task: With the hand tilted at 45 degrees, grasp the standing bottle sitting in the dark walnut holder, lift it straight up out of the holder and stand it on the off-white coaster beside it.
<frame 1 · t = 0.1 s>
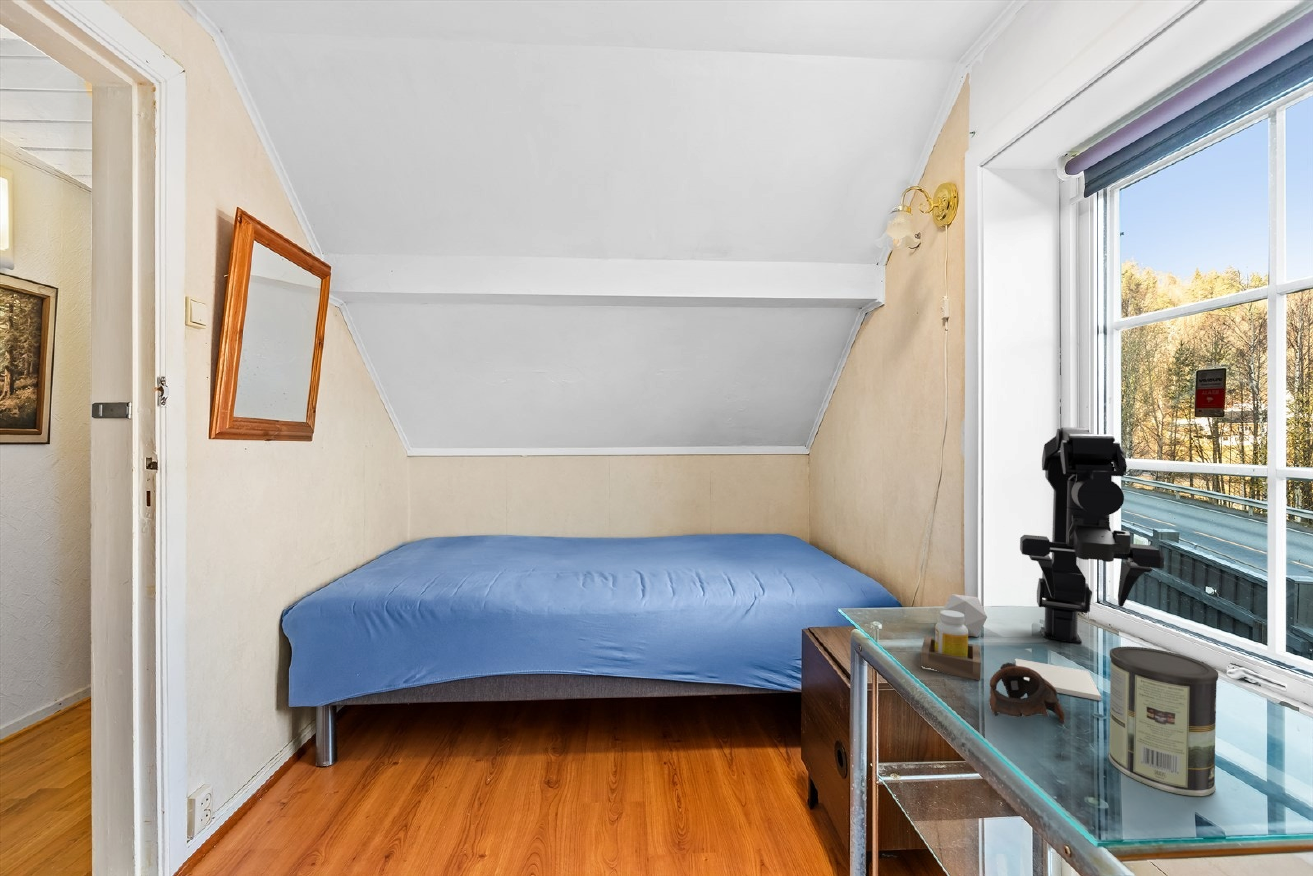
hand: (1085, 601, 96), 15 cm above the table, tool pointing down, fingers open, 9 cm apart
die: (963, 633, 123), on the table
walnut holder: (950, 665, 105), on the table
broken brown clay pot: (1022, 715, 87), on the table
off-white coaster: (1054, 680, 99), on the table
coffee can: (1158, 773, 73), on the table
supplement bottle: (950, 666, 105), resting in walnut holder
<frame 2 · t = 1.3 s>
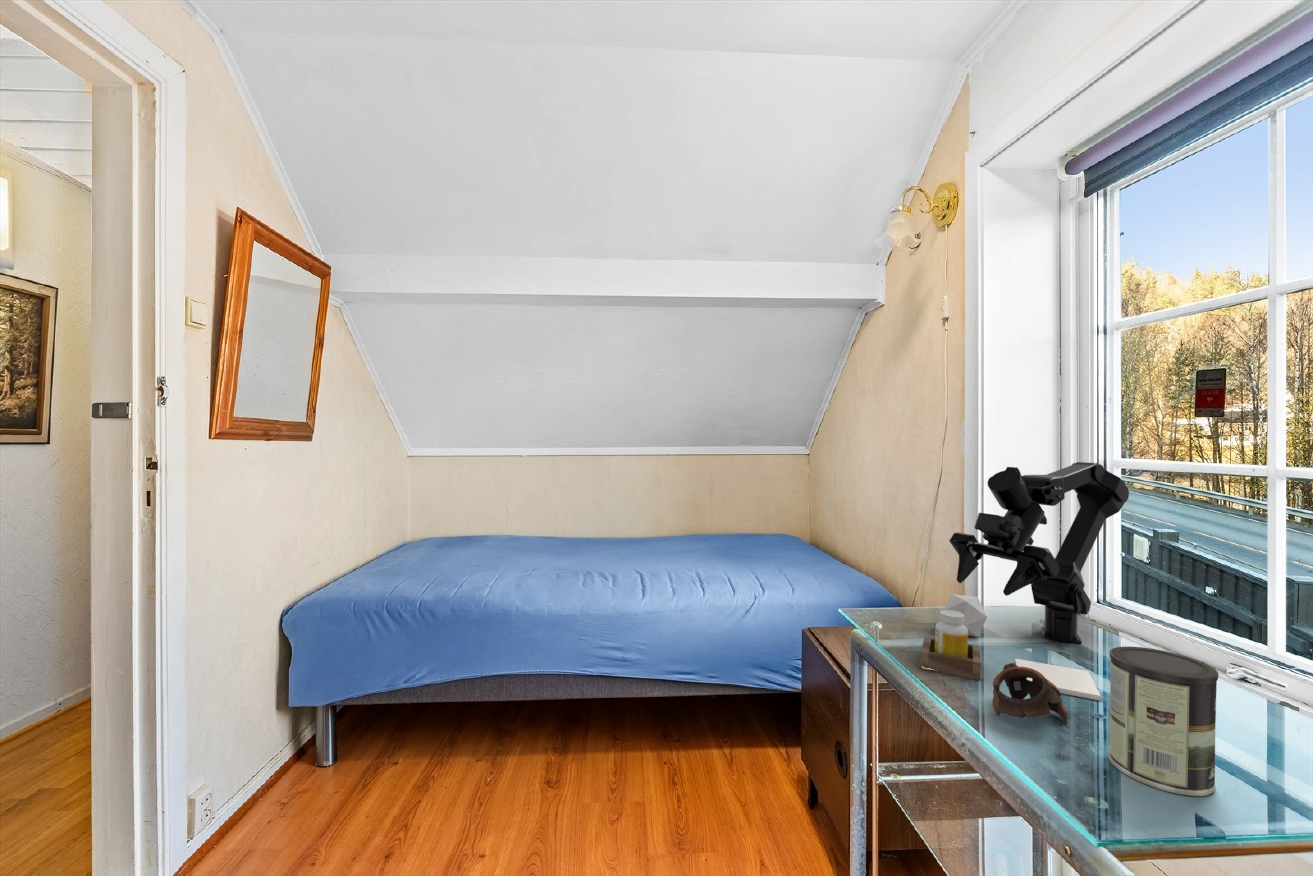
hand: (980, 587, 108), 13 cm above the table, tool tilted 45°, fingers open, 9 cm apart
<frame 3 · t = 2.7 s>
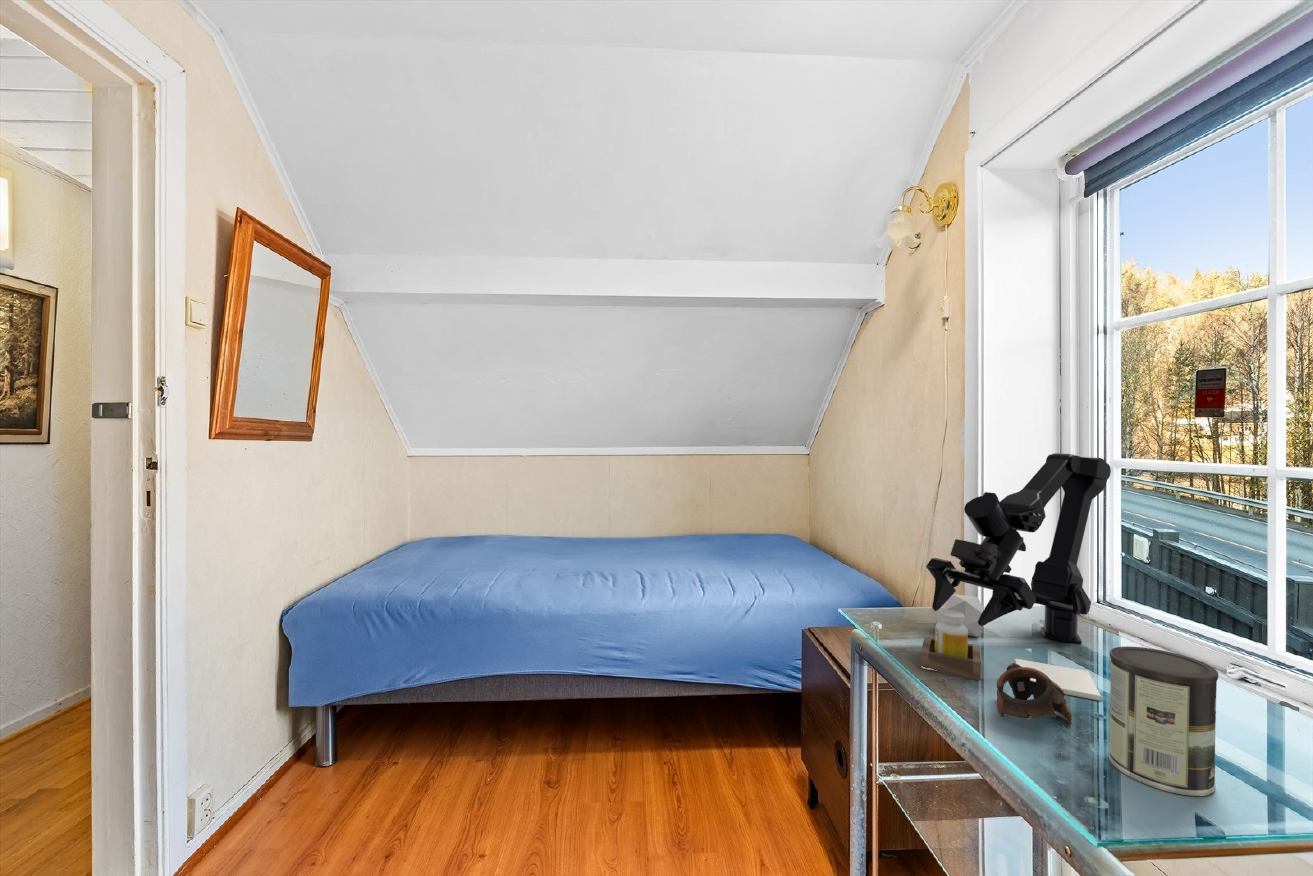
hand: (955, 616, 105), 9 cm above the table, tool tilted 45°, fingers open, 9 cm apart
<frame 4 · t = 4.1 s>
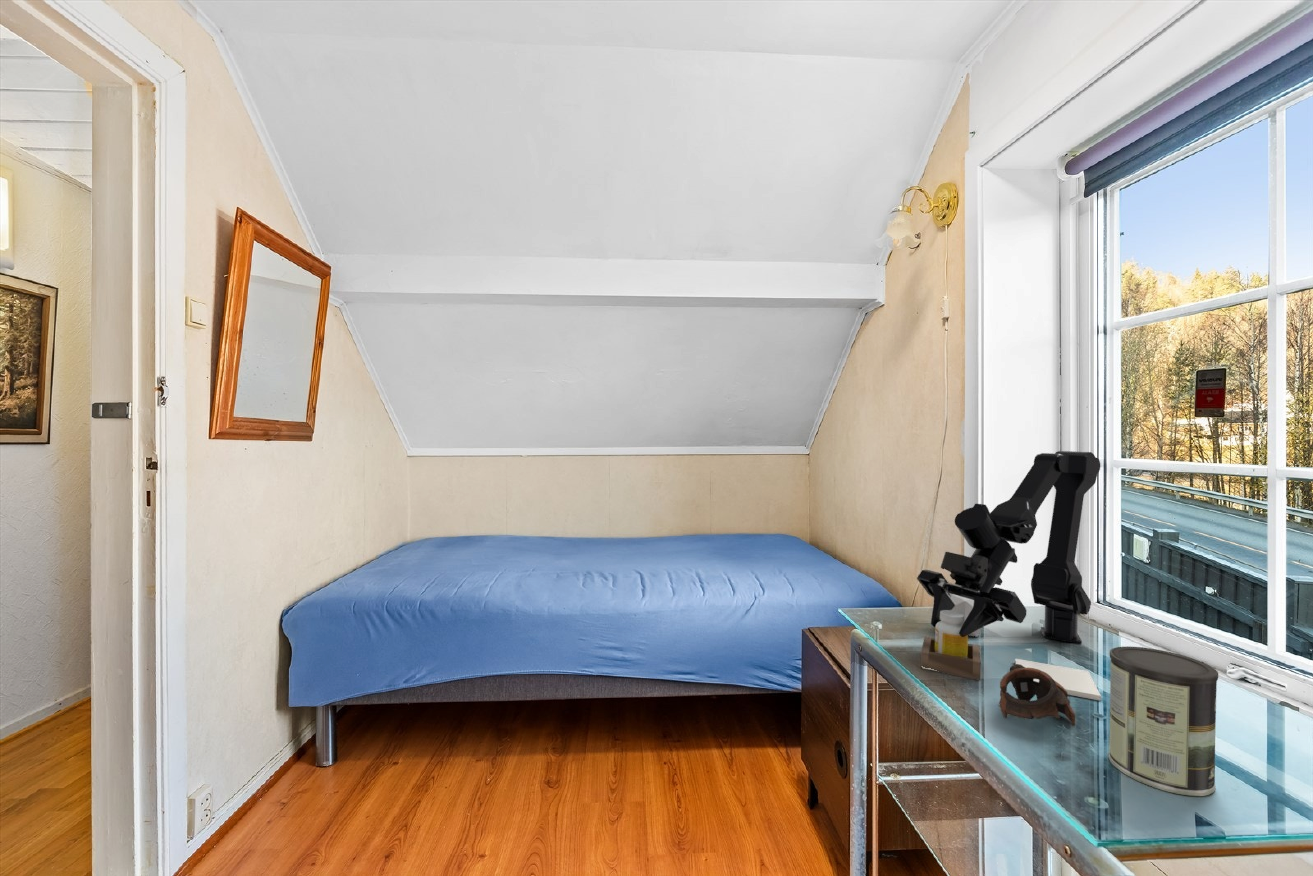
hand: (946, 630, 104), 7 cm above the table, tool tilted 45°, fingers closed on supplement bottle, 5 cm apart
supplement bottle: (950, 666, 105), resting in walnut holder, touching gripper
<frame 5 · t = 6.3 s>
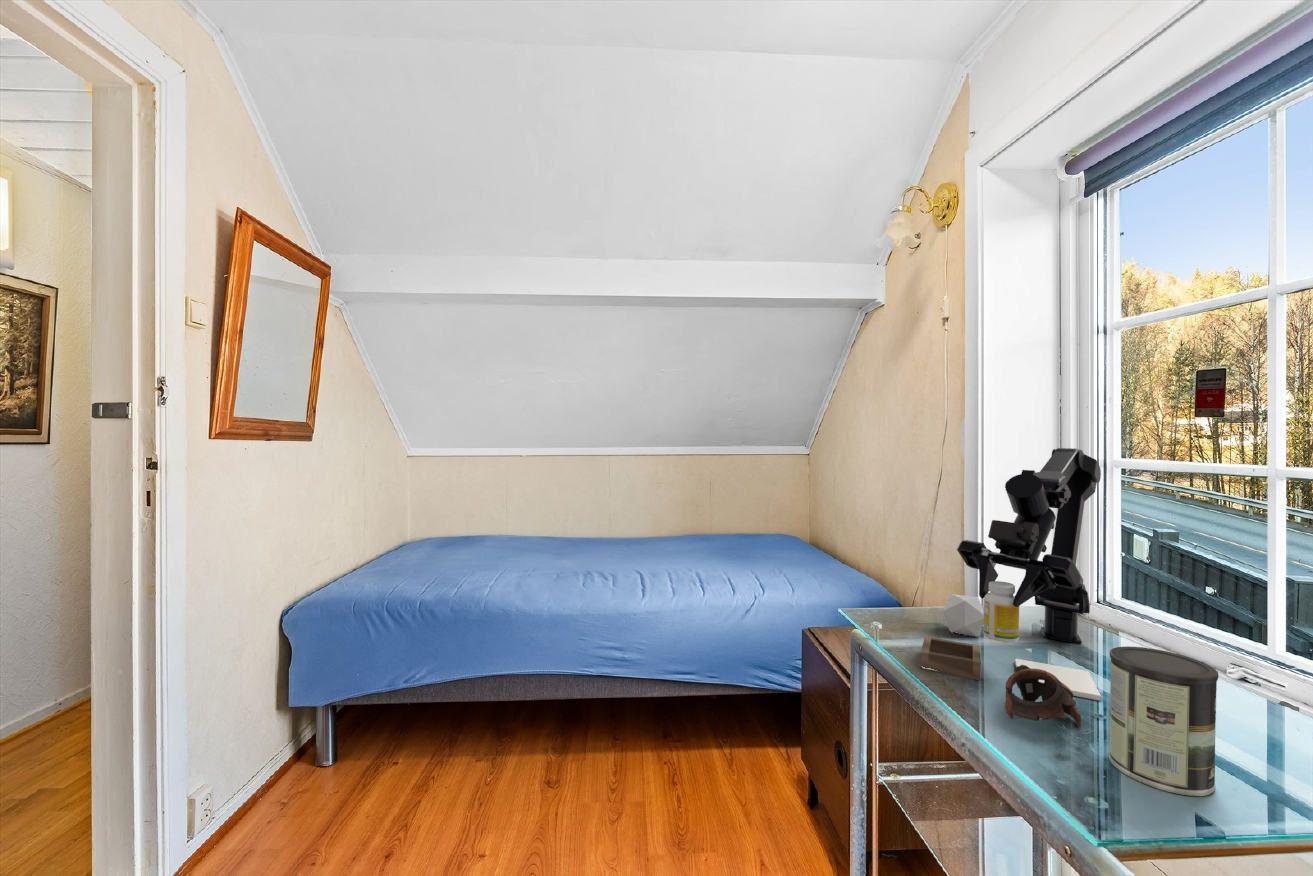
hand: (997, 601, 101), 13 cm above the table, tool tilted 45°, fingers closed on supplement bottle, 5 cm apart
supplement bottle: (1001, 639, 101), point 6 cm above the table, touching gripper
when the fingers open (9 cm above the table, at t = 8.4 s): supplement bottle drops 1 cm, resting on off-white coaster.
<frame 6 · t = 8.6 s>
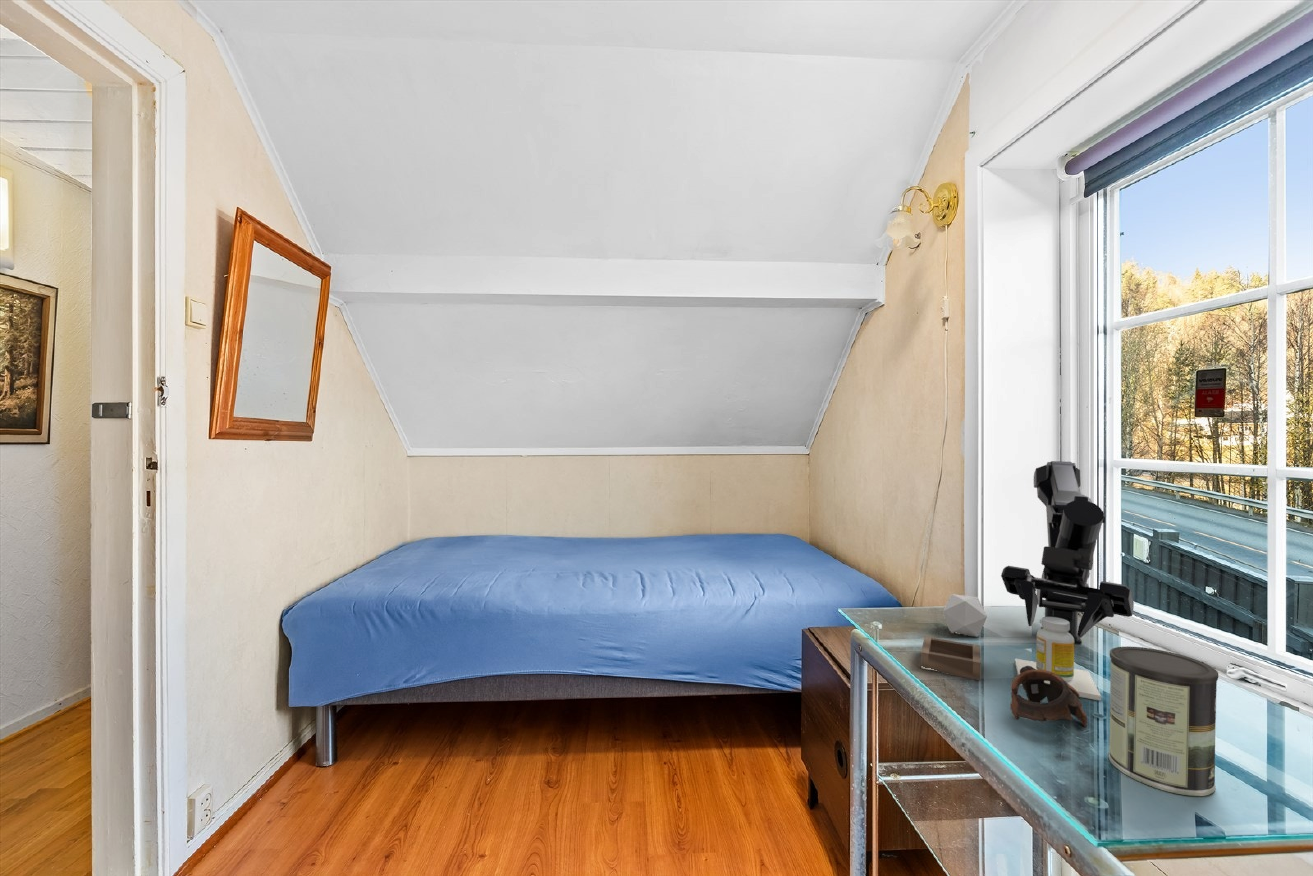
hand: (1053, 630, 98), 9 cm above the table, tool tilted 45°, fingers open, 7 cm apart
supplement bottle: (1054, 676, 99), point 1 cm above the table, touching off-white coaster
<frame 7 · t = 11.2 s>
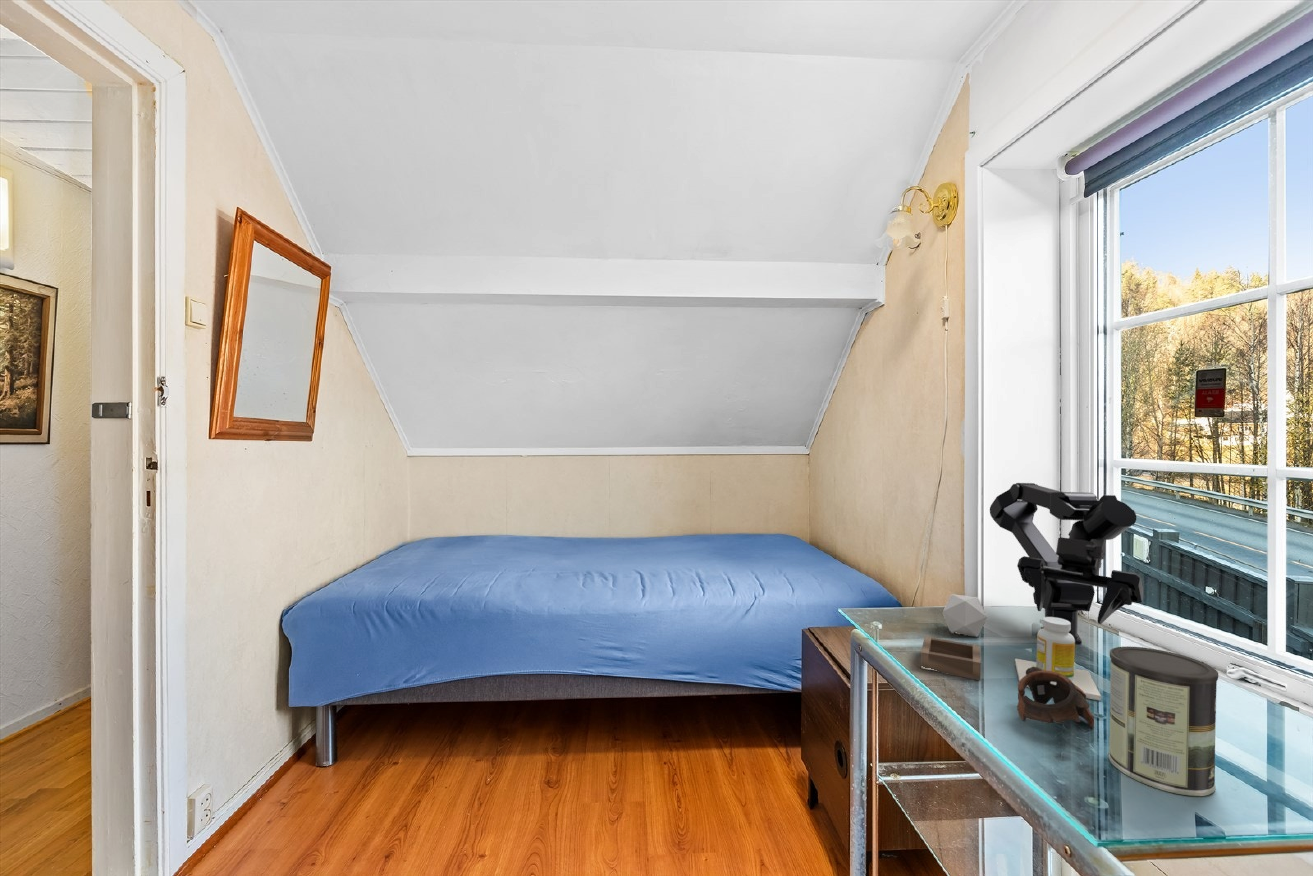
hand: (1067, 616, 104), 10 cm above the table, tool tilted 45°, fingers open, 9 cm apart
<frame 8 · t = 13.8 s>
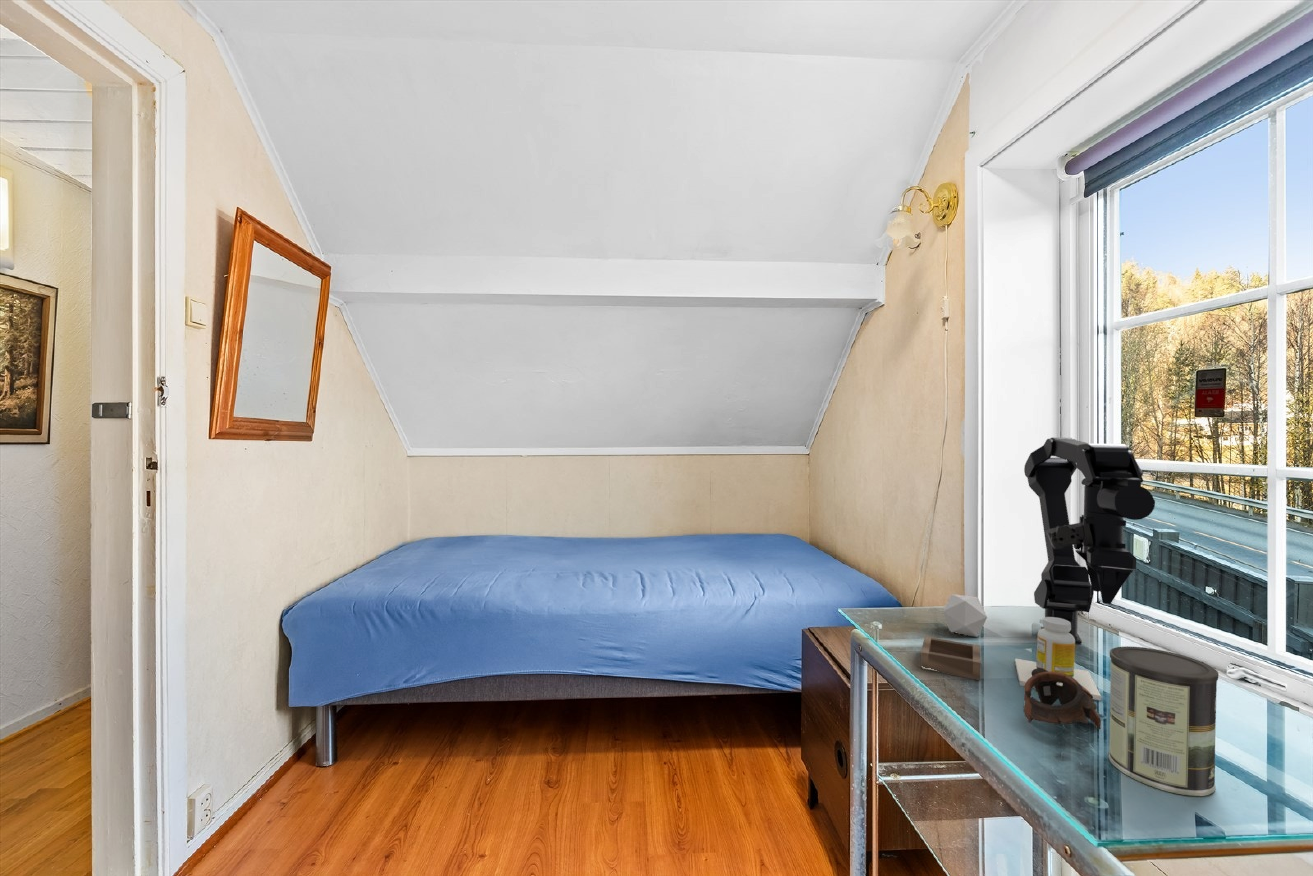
hand: (1101, 597, 105), 13 cm above the table, tool pointing down, fingers open, 9 cm apart
at the end: supplement bottle inside the target area on the off-white coaster (0.1 cm from its centre), point 0.6 cm above the off-white coaster's base; supplement bottle tilted 0°; the gripper is holding nothing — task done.
